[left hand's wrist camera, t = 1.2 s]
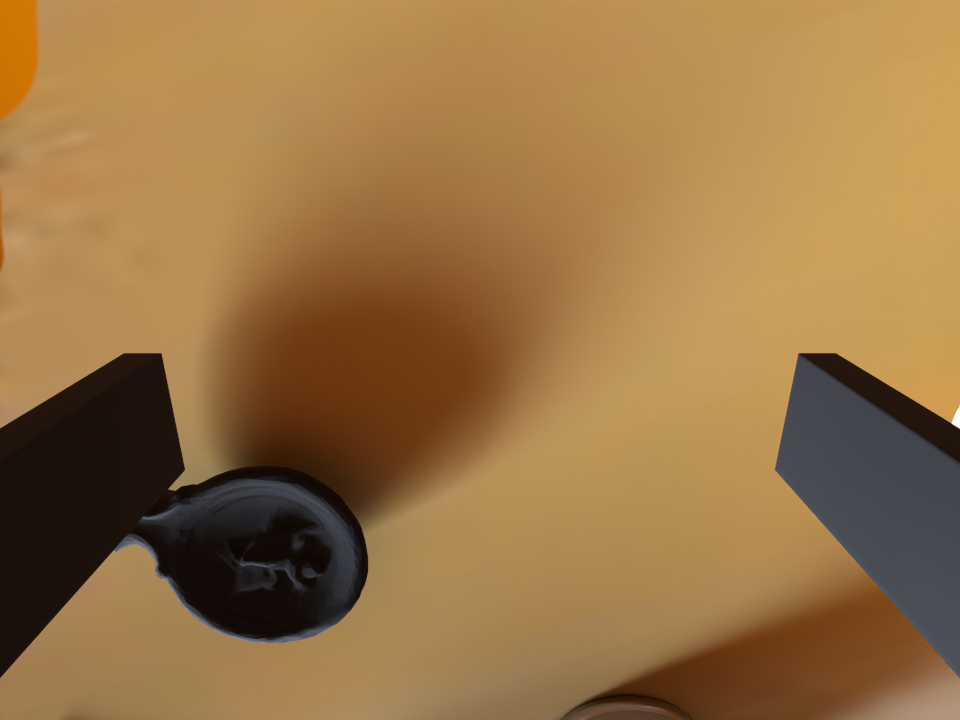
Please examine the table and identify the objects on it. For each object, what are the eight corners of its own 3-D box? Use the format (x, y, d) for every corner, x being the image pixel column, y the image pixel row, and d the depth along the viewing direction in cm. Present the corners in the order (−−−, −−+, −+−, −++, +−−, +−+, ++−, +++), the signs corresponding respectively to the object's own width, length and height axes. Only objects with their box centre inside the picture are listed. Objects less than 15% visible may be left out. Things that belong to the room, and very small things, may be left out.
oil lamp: (154, 386, 42) (114, 417, 38) (405, 484, 45) (397, 524, 41) (109, 541, 47) (68, 586, 42) (339, 621, 50) (325, 671, 45)
